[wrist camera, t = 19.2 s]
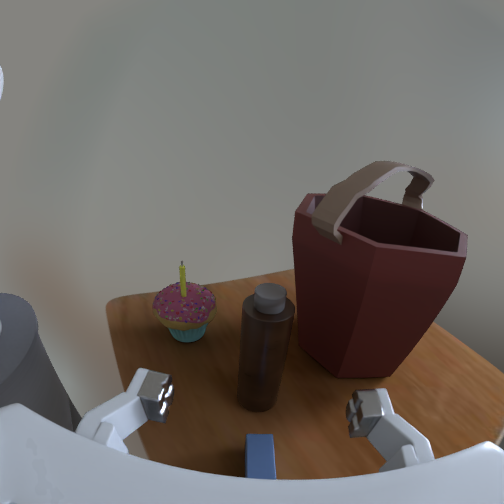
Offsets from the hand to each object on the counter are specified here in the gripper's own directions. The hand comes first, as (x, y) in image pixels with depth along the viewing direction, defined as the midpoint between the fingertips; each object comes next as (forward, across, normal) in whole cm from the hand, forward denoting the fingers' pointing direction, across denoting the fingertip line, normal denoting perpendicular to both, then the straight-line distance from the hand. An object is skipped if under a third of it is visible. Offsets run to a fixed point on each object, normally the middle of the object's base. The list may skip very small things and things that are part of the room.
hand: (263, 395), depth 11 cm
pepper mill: (+12, 0, +16) cm, 20 cm away
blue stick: (0, -1, +16) cm, 16 cm away
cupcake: (+22, +10, +16) cm, 29 cm away
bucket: (+23, -14, +16) cm, 31 cm away
